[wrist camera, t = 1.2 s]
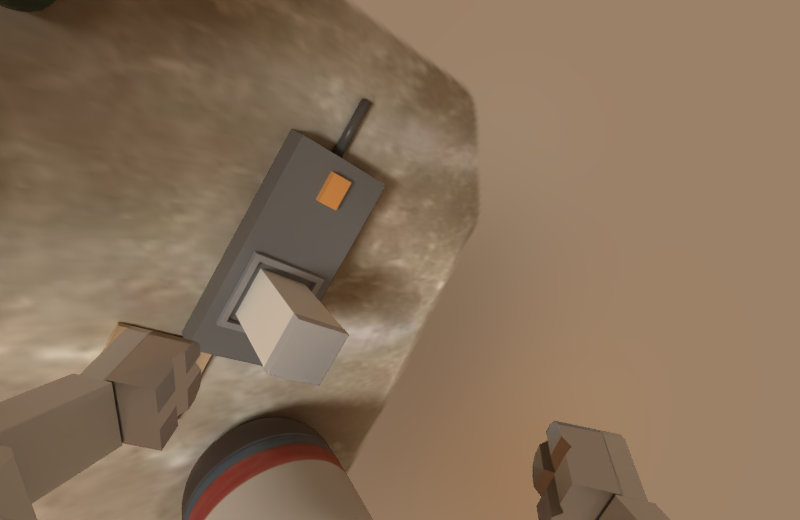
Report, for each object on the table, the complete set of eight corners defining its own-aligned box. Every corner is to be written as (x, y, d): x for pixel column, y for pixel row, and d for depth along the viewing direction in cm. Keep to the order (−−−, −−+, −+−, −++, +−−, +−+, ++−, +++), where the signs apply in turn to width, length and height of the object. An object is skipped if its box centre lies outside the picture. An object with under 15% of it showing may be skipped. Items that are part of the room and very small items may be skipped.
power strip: (181, 332, 46) (188, 353, 43) (323, 70, 43) (340, 73, 40) (272, 354, 52) (283, 374, 49) (400, 126, 49) (420, 133, 47)
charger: (235, 314, 45) (267, 374, 37) (260, 267, 44) (298, 319, 36) (281, 327, 48) (319, 385, 40) (305, 284, 47) (349, 334, 40)
